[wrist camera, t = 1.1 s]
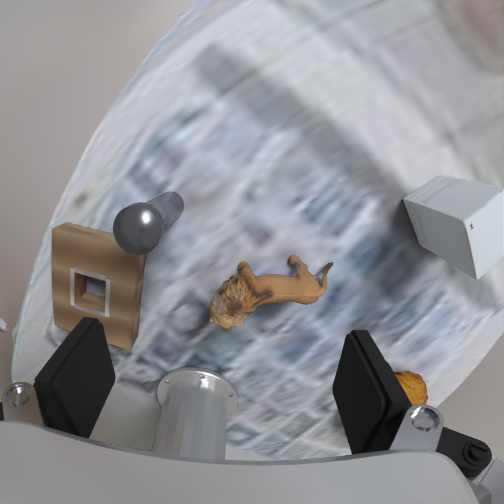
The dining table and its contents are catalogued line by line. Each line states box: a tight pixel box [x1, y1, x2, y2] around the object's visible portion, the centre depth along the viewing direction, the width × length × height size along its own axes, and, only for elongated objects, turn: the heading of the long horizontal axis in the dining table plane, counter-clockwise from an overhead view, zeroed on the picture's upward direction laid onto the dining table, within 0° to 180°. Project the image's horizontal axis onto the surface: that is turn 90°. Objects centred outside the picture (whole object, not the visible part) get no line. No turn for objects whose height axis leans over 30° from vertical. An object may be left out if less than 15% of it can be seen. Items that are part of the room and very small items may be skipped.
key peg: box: [113, 192, 184, 255], centre depth 28 cm, size 4×4×12 cm
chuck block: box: [52, 222, 146, 350], centre depth 35 cm, size 14×12×4 cm
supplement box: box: [403, 175, 504, 280], centre depth 29 cm, size 7×7×13 cm
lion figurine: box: [209, 255, 333, 332], centre depth 33 cm, size 15×5×9 cm, turn 103°
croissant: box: [395, 371, 428, 406], centre depth 42 cm, size 14×16×8 cm
